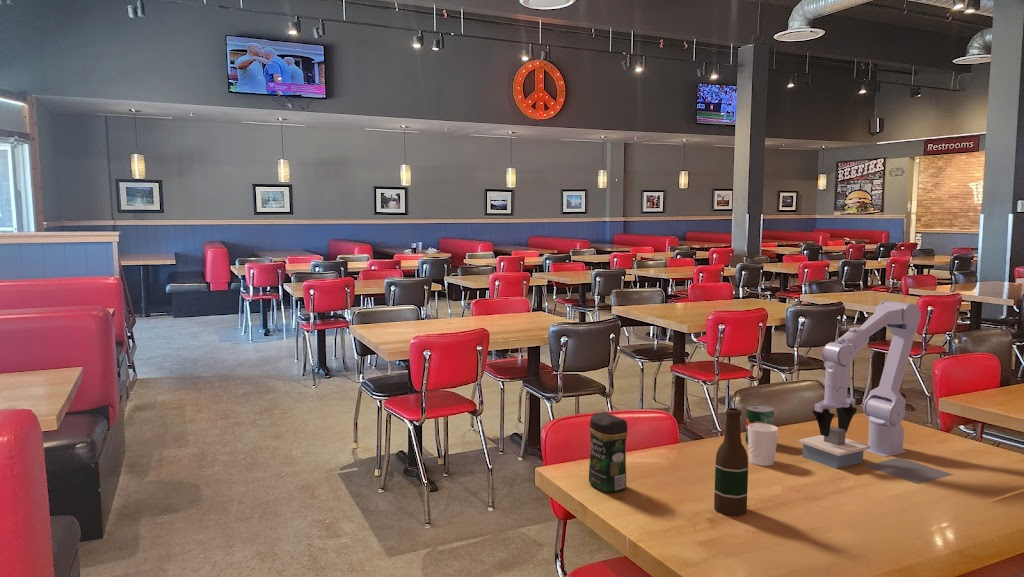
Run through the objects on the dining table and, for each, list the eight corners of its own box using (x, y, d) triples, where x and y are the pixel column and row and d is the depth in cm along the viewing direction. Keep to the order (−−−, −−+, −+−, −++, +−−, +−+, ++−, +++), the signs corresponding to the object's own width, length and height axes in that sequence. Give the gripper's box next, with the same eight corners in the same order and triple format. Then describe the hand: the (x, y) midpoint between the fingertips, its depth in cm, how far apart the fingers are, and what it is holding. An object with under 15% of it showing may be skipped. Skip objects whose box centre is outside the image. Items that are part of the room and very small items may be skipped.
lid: (829, 435, 206) (830, 419, 205) (870, 448, 194) (871, 431, 194) (798, 442, 200) (799, 425, 199) (839, 456, 188) (840, 438, 188)
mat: (898, 458, 200) (898, 457, 200) (952, 475, 187) (952, 474, 187) (864, 467, 193) (864, 465, 193) (918, 485, 180) (918, 484, 180)
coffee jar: (583, 482, 180) (584, 412, 179) (608, 477, 184) (610, 408, 182) (605, 496, 172) (606, 421, 170) (631, 490, 176) (633, 417, 174)
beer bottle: (707, 503, 168) (711, 405, 165) (739, 502, 168) (743, 404, 166) (720, 517, 160) (723, 414, 157) (753, 516, 160) (757, 413, 158)
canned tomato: (775, 442, 214) (777, 407, 213) (768, 449, 207) (770, 413, 206) (749, 437, 218) (750, 403, 217) (741, 444, 212) (743, 408, 211)
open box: (828, 452, 205) (829, 436, 205) (862, 463, 196) (863, 447, 195) (802, 457, 200) (803, 442, 200) (836, 470, 190) (837, 454, 190)
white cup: (772, 457, 200) (773, 423, 199) (779, 467, 192) (781, 431, 191) (743, 456, 201) (745, 422, 200) (750, 466, 193) (751, 430, 192)
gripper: (831, 392, 189) (828, 441, 190) (866, 386, 196) (863, 433, 197) (809, 386, 195) (806, 434, 196) (843, 381, 202) (841, 427, 203)
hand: (833, 433), depth 197 cm, fingers open, 7 cm apart
